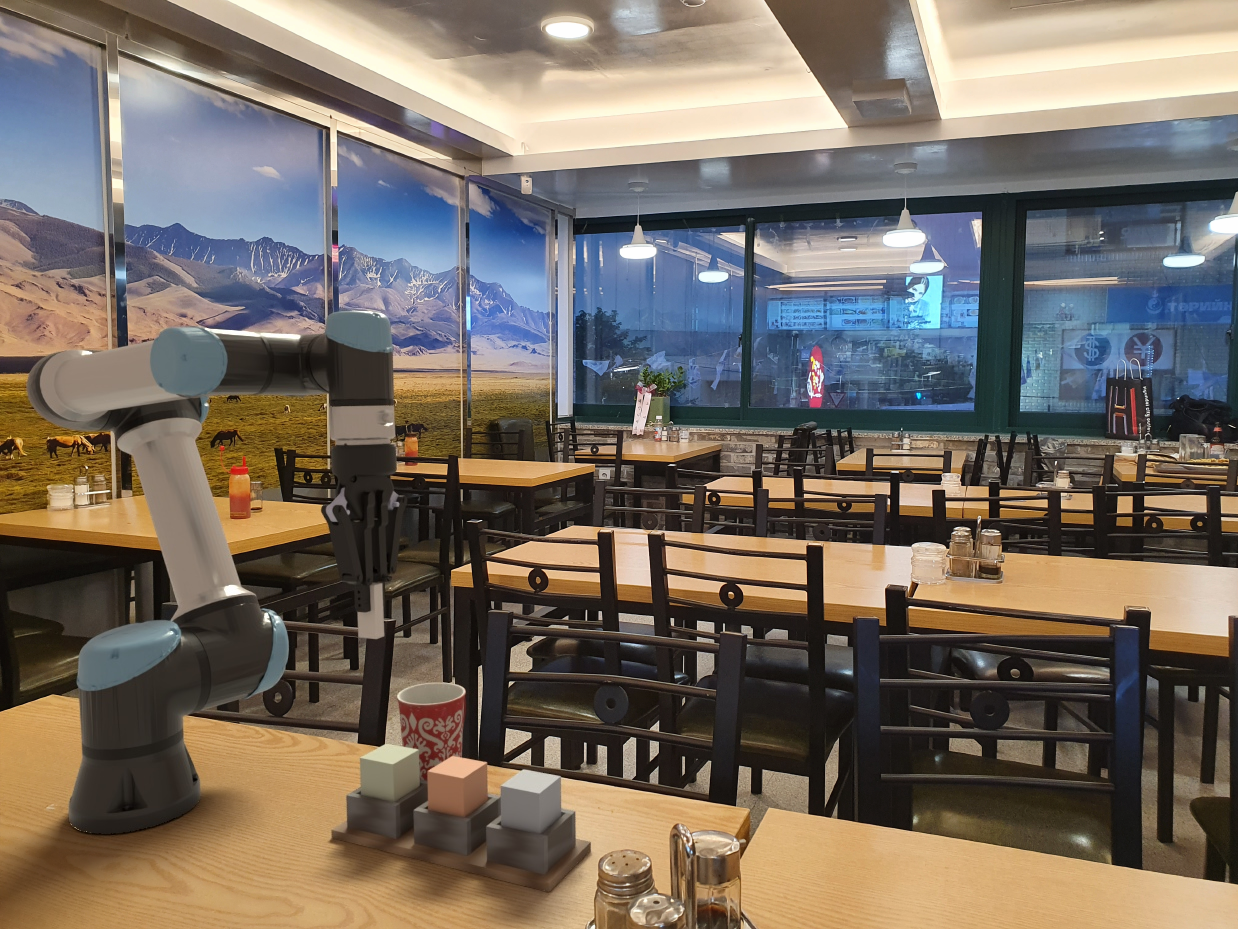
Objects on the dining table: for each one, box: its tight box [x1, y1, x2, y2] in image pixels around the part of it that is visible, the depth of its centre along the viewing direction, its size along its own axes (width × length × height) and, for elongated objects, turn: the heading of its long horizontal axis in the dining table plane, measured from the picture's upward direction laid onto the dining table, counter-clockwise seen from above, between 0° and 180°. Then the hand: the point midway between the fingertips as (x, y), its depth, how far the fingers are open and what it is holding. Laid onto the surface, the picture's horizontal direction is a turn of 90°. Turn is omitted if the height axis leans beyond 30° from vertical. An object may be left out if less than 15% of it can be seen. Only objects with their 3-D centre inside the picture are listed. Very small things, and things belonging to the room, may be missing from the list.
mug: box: [396, 682, 467, 781], centre depth 124 cm, size 13×9×14 cm
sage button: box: [359, 743, 420, 802], centre depth 112 cm, size 5×5×6 cm
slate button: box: [499, 769, 562, 834], centre depth 103 cm, size 5×5×6 cm
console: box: [330, 779, 592, 893], centre depth 108 cm, size 30×10×5 cm, turn 65°
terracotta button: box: [427, 756, 489, 818], centre depth 107 cm, size 5×5×6 cm
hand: (371, 636), depth 110 cm, fingers closed
